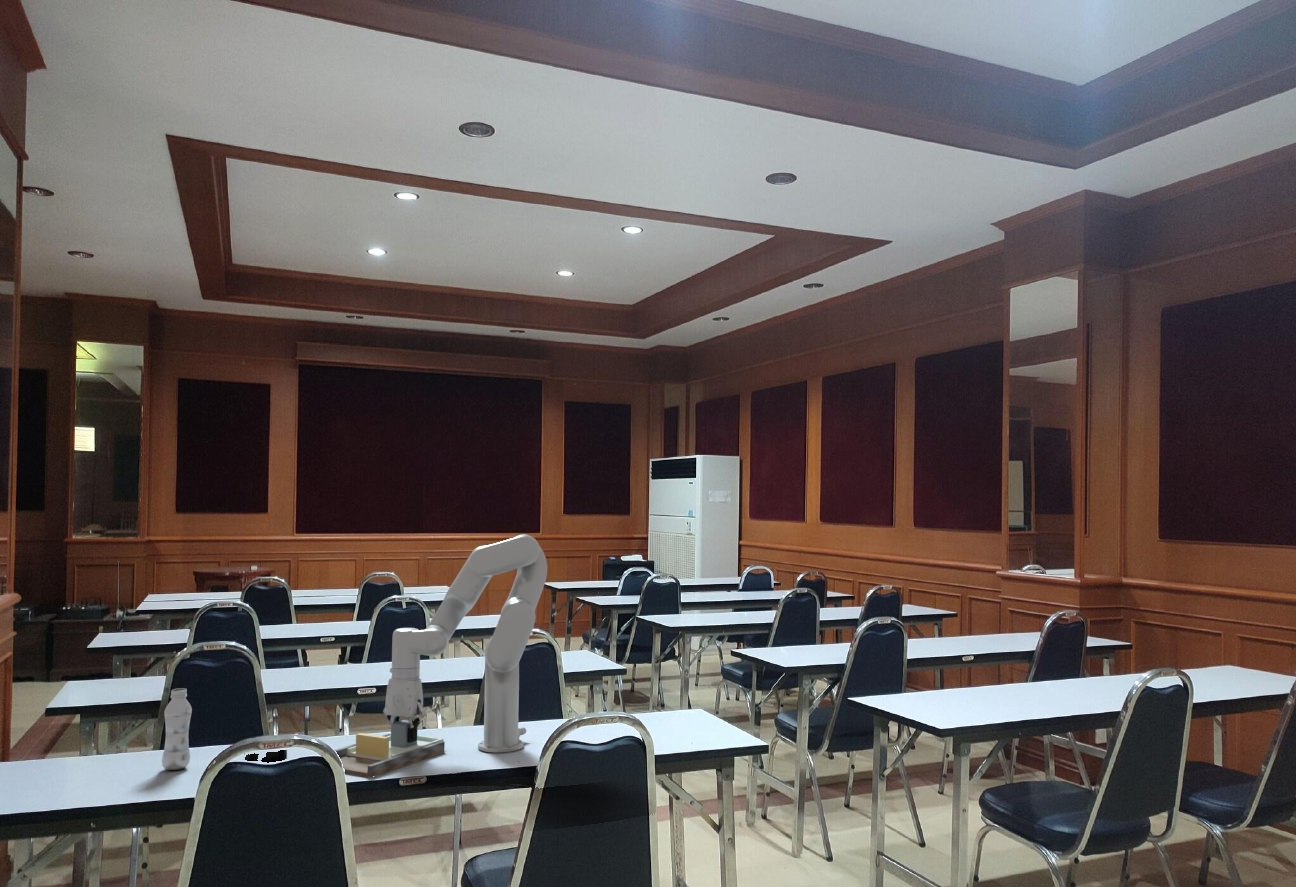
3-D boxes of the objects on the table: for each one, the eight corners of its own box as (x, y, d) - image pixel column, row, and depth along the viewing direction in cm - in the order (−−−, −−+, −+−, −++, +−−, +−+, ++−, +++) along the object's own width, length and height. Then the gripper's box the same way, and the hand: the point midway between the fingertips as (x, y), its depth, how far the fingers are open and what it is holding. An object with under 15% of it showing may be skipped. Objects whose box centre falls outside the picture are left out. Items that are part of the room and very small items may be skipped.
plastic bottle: (158, 773, 229) (161, 692, 231) (164, 766, 236) (168, 687, 237) (186, 771, 231) (189, 691, 232) (192, 764, 237) (195, 686, 239)
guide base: (388, 743, 260) (389, 733, 260) (444, 751, 251) (444, 741, 251) (312, 767, 235) (312, 756, 235) (371, 777, 226) (371, 766, 226)
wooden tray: (399, 738, 261) (399, 718, 261) (443, 745, 253) (443, 724, 254) (347, 755, 243) (347, 732, 243) (393, 762, 236) (393, 739, 236)
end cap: (285, 764, 238) (286, 738, 238) (287, 771, 231) (288, 744, 232) (243, 769, 234) (244, 742, 234) (244, 776, 227) (245, 748, 228)
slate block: (403, 741, 254) (403, 719, 255) (417, 743, 252) (417, 721, 252) (390, 745, 250) (391, 723, 250) (404, 747, 247) (405, 725, 248)
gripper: (372, 673, 253) (370, 740, 251) (420, 678, 245) (418, 747, 244) (391, 669, 260) (390, 734, 258) (438, 673, 252) (437, 741, 250)
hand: (404, 739), depth 251 cm, fingers closed on slate block, 5 cm apart
